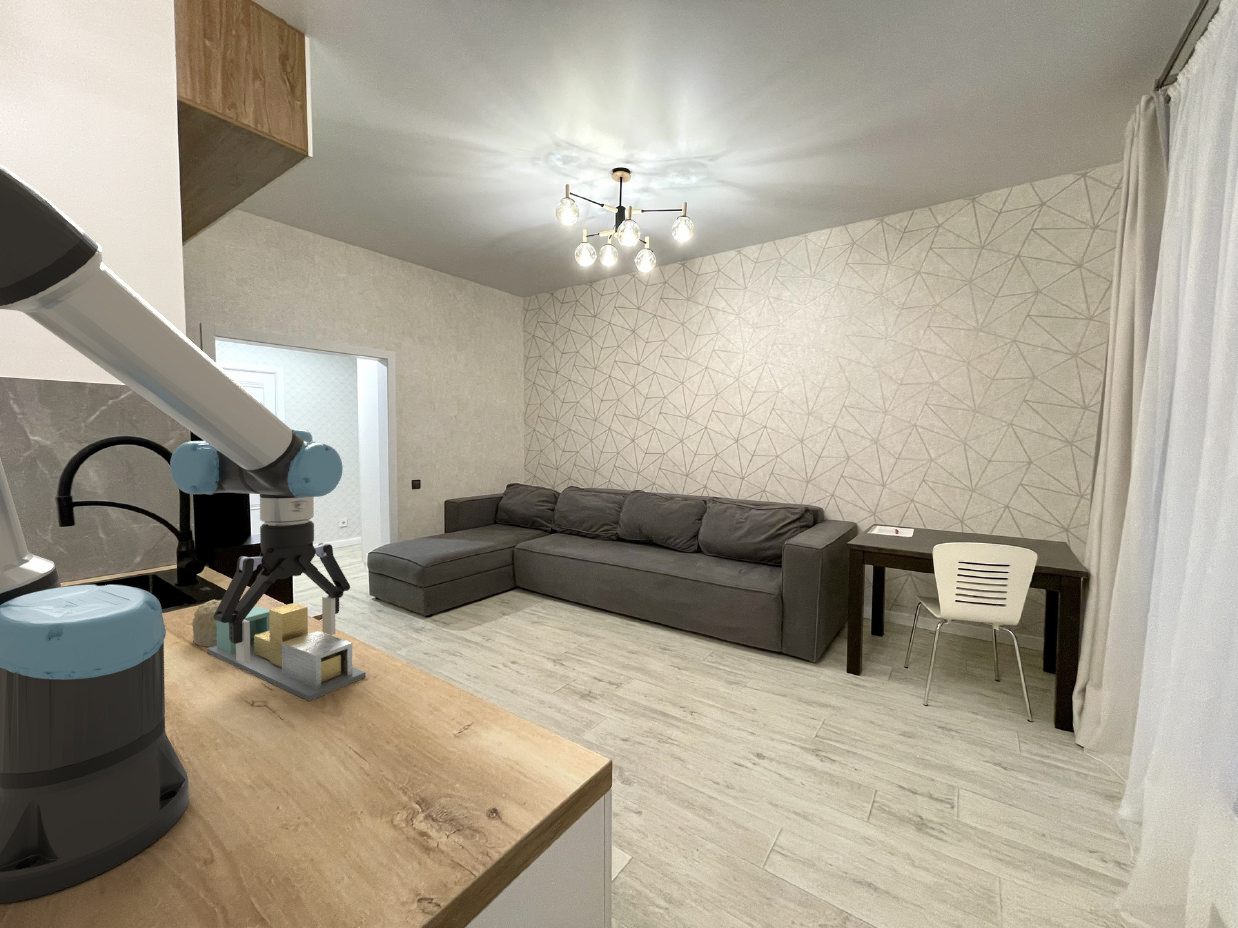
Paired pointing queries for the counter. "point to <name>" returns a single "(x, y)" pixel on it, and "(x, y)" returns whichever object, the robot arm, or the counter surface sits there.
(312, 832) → the counter surface
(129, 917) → the counter surface
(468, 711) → the counter surface
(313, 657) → the grey rectangular sleeve
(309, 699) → the slate board
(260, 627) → the socket
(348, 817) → the counter surface
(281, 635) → the gold stepped block
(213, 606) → the sponge
